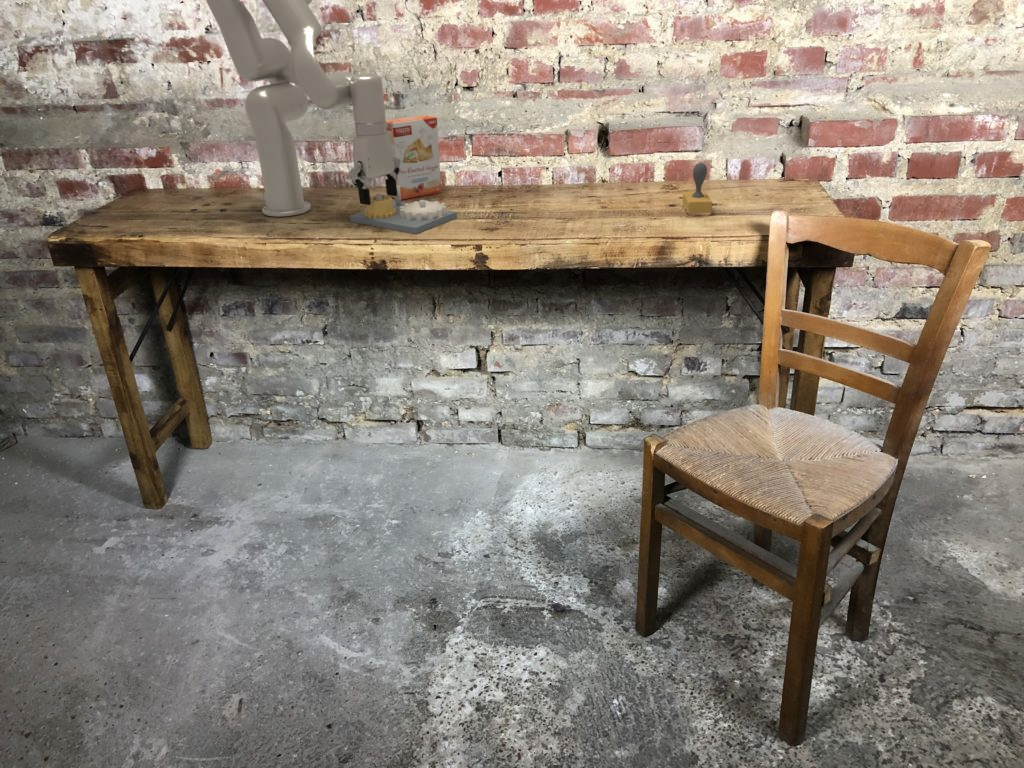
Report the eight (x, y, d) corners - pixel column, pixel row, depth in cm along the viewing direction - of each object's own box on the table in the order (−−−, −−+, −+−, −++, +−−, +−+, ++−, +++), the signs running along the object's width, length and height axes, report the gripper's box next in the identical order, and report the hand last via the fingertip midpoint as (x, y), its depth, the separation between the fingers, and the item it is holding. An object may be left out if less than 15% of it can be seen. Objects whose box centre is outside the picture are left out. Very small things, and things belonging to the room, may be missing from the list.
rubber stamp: (711, 216, 189) (716, 167, 183) (687, 216, 189) (691, 167, 184) (704, 205, 198) (708, 158, 192) (682, 205, 198) (685, 158, 192)
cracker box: (399, 201, 210) (392, 122, 201) (389, 197, 215) (381, 119, 205) (443, 192, 218) (437, 116, 208) (432, 188, 222) (426, 113, 212)
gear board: (350, 221, 194) (347, 196, 191) (393, 206, 205) (390, 182, 202) (415, 234, 183) (413, 207, 180) (457, 217, 194) (455, 192, 191)
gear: (358, 215, 193) (356, 200, 191) (380, 208, 199) (378, 193, 197) (381, 220, 189) (379, 204, 187) (403, 212, 194) (401, 196, 193)
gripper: (384, 122, 192) (391, 190, 200) (333, 134, 180) (343, 205, 188) (406, 124, 188) (412, 193, 196) (356, 136, 176) (365, 209, 184)
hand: (379, 199), depth 192 cm, fingers open, 9 cm apart
